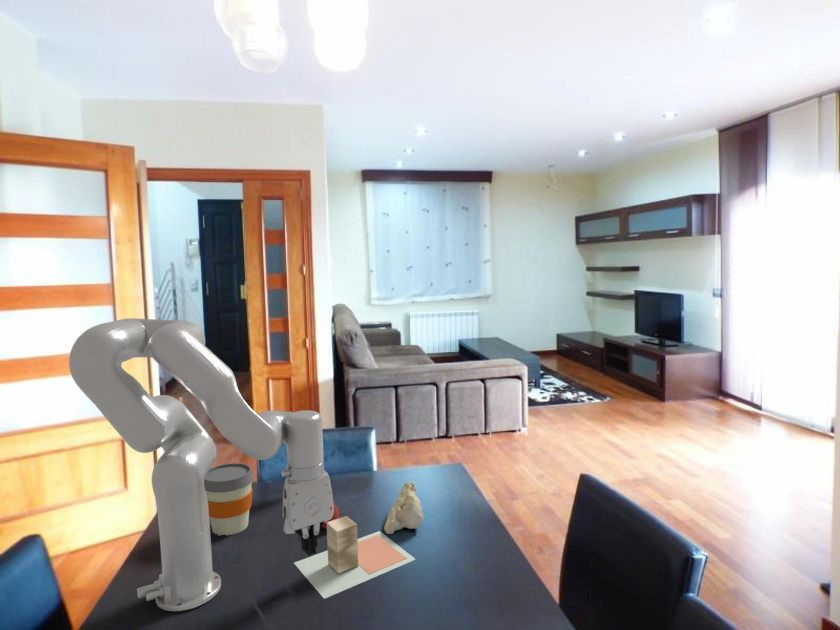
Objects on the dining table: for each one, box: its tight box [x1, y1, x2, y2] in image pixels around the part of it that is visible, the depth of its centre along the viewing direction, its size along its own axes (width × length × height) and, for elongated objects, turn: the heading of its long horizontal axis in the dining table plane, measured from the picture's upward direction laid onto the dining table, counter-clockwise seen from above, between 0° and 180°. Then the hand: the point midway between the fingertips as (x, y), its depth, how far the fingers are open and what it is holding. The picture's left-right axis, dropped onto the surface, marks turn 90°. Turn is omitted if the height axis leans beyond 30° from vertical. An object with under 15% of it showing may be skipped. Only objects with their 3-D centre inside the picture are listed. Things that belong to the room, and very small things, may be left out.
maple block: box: [326, 515, 359, 575], centre depth 116 cm, size 5×5×10 cm
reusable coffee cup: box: [204, 462, 254, 536], centre depth 135 cm, size 13×13×15 cm
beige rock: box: [383, 481, 424, 535], centre depth 135 cm, size 15×7×15 cm
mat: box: [293, 530, 417, 599], centre depth 118 cm, size 23×16×1 cm
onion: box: [321, 504, 340, 530], centre depth 133 cm, size 6×6×8 cm
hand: (309, 551), depth 111 cm, fingers closed
